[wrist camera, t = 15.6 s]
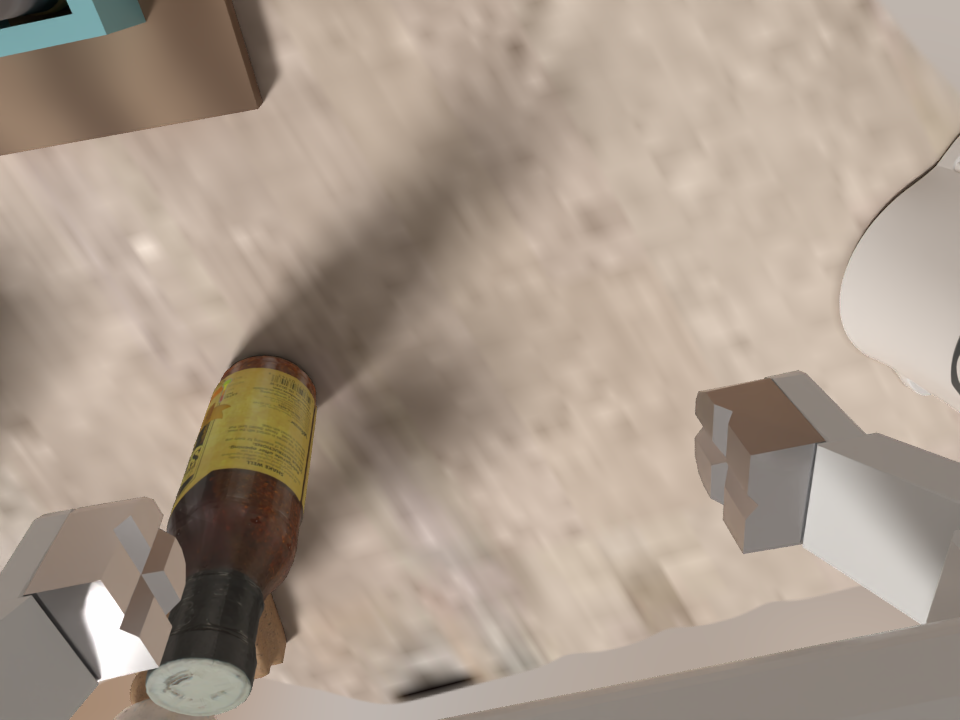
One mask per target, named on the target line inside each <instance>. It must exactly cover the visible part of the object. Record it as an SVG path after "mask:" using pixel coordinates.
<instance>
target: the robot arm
mask: <svg viewBox="0 0 960 720" xmlns="http://www.w3.org/2000/svg"><path fill="white" fill-rule="evenodd" d="M840 315H841V321H842V324H843V327H844V330H845V332H846V334H847V336H848V338H849V339H850V341H851V342H852V343H853V345H854V346H855V347H856V348H857V349H858V350H860V351H861V352H862V353H863V354H865V355H866V356H868V357H870V358H872V359H874V360H876V361H878V362H881V363H883V364H885V365H886V366H888V367H890V368H892V369H894V370H895V372H896V373H897V375H898V376H899V378H900V379H901V381H902V382H903V383H904V384H905V385H906V386H907V387H908V388H910V389H911V390H913V391H914V392H916V393H917V394H919V395H923V396H927V395H931V394H932V395H933V396H935V397H936V398H938V399H939V400H941V401H942V402H944V403H945V404H947V405H949V406H950V407H952V408H953V409H955V410H956V411H958V412H959V413H960V136H959V137H958V138H957V139H956V140H955V142H954V143H953V144H952V145H951V147H950V148H949V149H948V151H947V152H946V153H945V155H944V156H943V157H942V159H941V160H940V161H939V163H938V164H937V165H936V166H935V167H934V168H933V169H932V170H931V171H930V172H929V173H928V174H926V175H925V176H924V177H923V178H922V179H920V180H919V181H918V182H916V183H915V184H914V185H912V186H911V187H910V188H908V189H907V190H906V191H904V192H903V193H902V194H901V195H900V196H898V197H897V198H896V199H895V200H894V201H893V202H892V203H891V204H889V205H888V206H887V207H886V208H885V210H884V211H883V212H882V213H881V214H880V215H879V216H878V217H877V218H876V219H875V221H874V222H873V223H872V224H871V226H870V227H869V228H868V229H867V231H866V232H865V234H864V235H863V237H862V238H861V240H860V241H859V243H858V245H857V246H856V248H855V250H854V252H853V254H852V256H851V258H850V260H849V263H848V265H847V268H846V271H845V274H844V277H843V281H842V285H841V291H840ZM695 415H696V416H697V418H698V419H699V421H700V422H701V424H702V426H703V427H702V429H701V430H700V431H699V433H698V434H697V435H696V437H695V458H696V463H697V468H698V473H699V475H700V478H701V480H702V483H703V486H704V487H705V489H706V491H707V493H708V495H709V496H710V498H711V499H713V500H715V501H717V502H719V503H721V504H723V505H724V507H723V521H724V522H725V524H726V526H727V528H728V529H729V531H730V533H731V534H732V536H733V538H734V539H735V541H736V543H737V545H738V546H739V548H740V550H741V551H742V553H743V554H746V553H752V552H758V551H764V550H770V549H776V548H782V547H788V546H794V545H800V544H803V548H805V549H807V550H808V551H810V552H811V553H813V554H814V555H816V556H817V557H819V558H820V559H822V560H823V561H825V562H826V563H828V564H829V565H831V566H833V567H834V568H836V569H837V570H839V571H840V572H842V573H843V574H845V575H846V576H848V577H849V578H851V579H852V580H854V581H856V582H857V583H859V584H860V585H862V586H863V587H865V588H866V589H868V590H869V591H871V592H872V593H874V594H876V595H877V596H879V597H880V598H882V599H883V600H885V601H886V602H888V603H890V604H891V605H892V606H894V607H895V608H897V609H899V610H900V611H901V612H903V613H905V614H906V615H908V616H909V617H911V618H912V619H914V620H915V621H917V622H918V623H920V624H921V625H917V626H912V627H907V628H902V629H897V630H891V631H886V632H881V633H876V634H871V635H866V636H861V637H856V638H850V639H846V640H840V641H836V642H831V643H825V644H820V645H815V646H810V647H805V648H800V649H794V650H789V651H784V652H779V653H774V654H769V655H764V656H759V657H754V658H749V659H744V660H738V661H734V662H728V663H724V664H718V665H713V666H708V667H703V668H698V669H693V670H688V671H683V672H677V673H672V674H667V675H662V676H657V677H652V678H647V679H642V680H637V681H632V682H627V683H622V684H617V685H611V686H607V687H601V688H597V689H591V690H586V691H581V692H576V693H571V694H566V695H561V696H556V697H551V698H546V699H540V700H535V701H530V702H525V703H521V704H515V705H510V706H505V707H500V708H495V709H490V710H485V711H480V712H474V713H469V714H464V715H459V716H454V717H449V718H444V719H439V720H960V463H959V462H956V461H953V460H950V459H948V458H945V457H942V456H940V455H937V454H934V453H931V452H929V451H926V450H923V449H920V448H918V447H915V446H912V445H909V444H907V443H904V442H901V441H898V440H896V439H893V438H890V437H888V436H885V435H882V434H879V433H873V434H866V433H865V432H864V431H863V430H862V429H861V428H860V427H859V426H858V425H857V424H856V423H855V422H854V421H853V420H852V419H851V418H850V417H849V416H848V415H847V414H846V413H845V412H844V411H843V410H842V409H841V408H840V407H839V406H838V405H837V404H836V403H835V402H834V401H833V400H832V399H831V398H830V397H829V396H828V395H827V394H826V393H825V392H824V391H823V390H822V389H821V388H820V387H819V386H818V385H817V384H816V383H815V382H814V381H813V380H812V379H811V378H810V377H809V376H808V375H807V374H806V373H804V372H802V371H799V370H797V371H792V372H788V373H783V374H779V375H774V376H769V377H765V378H764V379H760V380H755V381H750V382H745V383H740V384H735V385H729V386H724V387H719V388H714V389H709V390H704V391H699V392H698V395H697V398H696V406H695ZM163 516H164V515H163V514H162V512H161V511H160V509H159V507H158V506H157V504H156V502H155V501H154V499H151V498H147V497H139V498H133V499H127V500H121V501H115V502H109V503H103V504H98V505H92V506H86V507H80V508H77V509H70V510H64V511H59V512H53V513H48V514H44V515H42V516H40V517H39V518H37V519H35V520H34V521H33V523H32V524H31V526H30V527H29V529H28V531H27V532H26V534H25V535H24V537H23V539H22V540H21V542H20V543H19V545H18V547H17V548H16V550H15V551H14V553H13V554H12V556H11V558H10V559H9V561H8V562H7V564H6V566H5V567H4V569H3V570H2V572H1V574H0V720H69V719H70V718H71V717H72V715H73V714H74V713H75V712H76V711H77V710H78V708H79V707H80V706H81V705H82V704H83V702H84V701H85V700H86V699H87V698H88V696H89V695H90V694H91V693H92V692H93V690H94V689H95V688H96V687H97V686H98V682H97V681H101V680H105V679H110V678H114V677H118V676H123V675H127V674H132V673H136V672H141V671H145V670H150V669H154V668H159V666H160V663H161V660H162V656H163V653H164V650H165V647H166V644H167V641H168V638H169V635H170V632H171V629H172V625H171V623H170V622H169V620H168V618H167V617H166V615H167V614H168V613H169V612H170V611H171V610H172V609H173V608H174V607H175V606H176V605H177V604H178V602H179V601H180V600H181V597H182V594H183V591H184V587H185V584H186V563H185V559H184V555H183V552H182V549H181V547H180V545H179V543H178V541H177V539H176V537H174V536H172V535H171V534H169V533H167V532H165V531H163V530H161V529H159V527H160V524H161V522H162V519H163Z"/></svg>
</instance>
